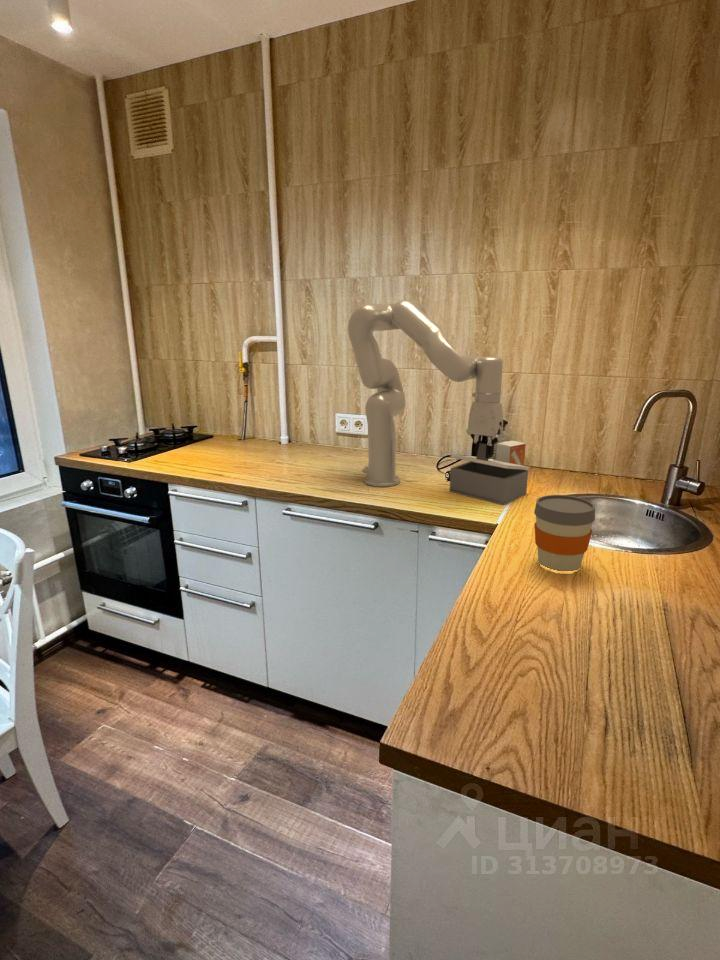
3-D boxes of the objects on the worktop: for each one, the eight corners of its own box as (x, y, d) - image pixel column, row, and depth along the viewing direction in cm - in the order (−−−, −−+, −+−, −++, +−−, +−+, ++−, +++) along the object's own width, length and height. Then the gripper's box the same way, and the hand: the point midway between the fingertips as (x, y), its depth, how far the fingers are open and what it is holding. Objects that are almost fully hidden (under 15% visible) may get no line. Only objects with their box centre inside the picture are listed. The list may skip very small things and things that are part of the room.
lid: (450, 457, 167) (453, 439, 166) (473, 459, 177) (477, 442, 176) (507, 468, 153) (510, 448, 152) (528, 470, 163) (532, 451, 162)
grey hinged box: (449, 491, 170) (450, 468, 167) (473, 482, 179) (474, 460, 177) (503, 505, 156) (505, 480, 154) (526, 494, 166) (528, 470, 163)
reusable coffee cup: (583, 583, 109) (591, 517, 104) (523, 569, 115) (528, 507, 111) (592, 560, 119) (600, 499, 114) (537, 549, 125) (542, 491, 121)
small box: (507, 482, 178) (510, 446, 174) (494, 478, 183) (496, 443, 179) (523, 478, 182) (526, 443, 178) (509, 474, 187) (511, 440, 183)
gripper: (458, 396, 159) (455, 454, 165) (505, 402, 148) (500, 463, 153) (471, 394, 164) (468, 450, 170) (518, 399, 153) (513, 458, 158)
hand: (483, 455), depth 162 cm, fingers closed on lid, 3 cm apart
